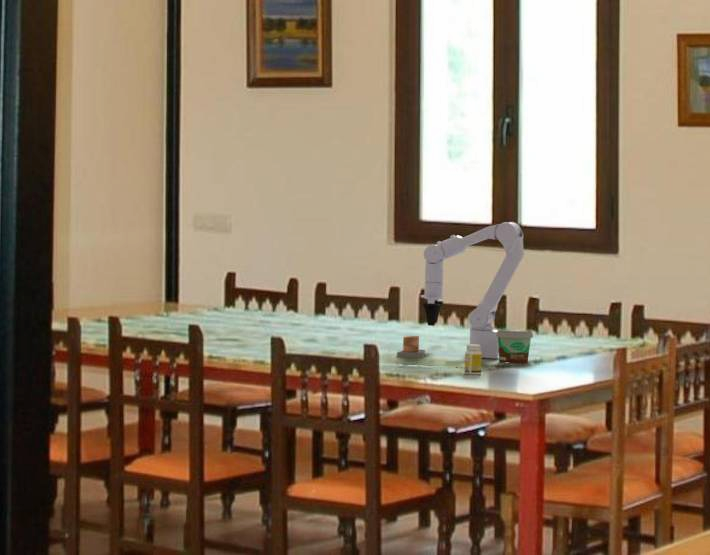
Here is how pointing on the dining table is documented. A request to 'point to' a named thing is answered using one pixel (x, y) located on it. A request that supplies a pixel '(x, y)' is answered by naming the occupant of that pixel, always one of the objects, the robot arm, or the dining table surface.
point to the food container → (514, 346)
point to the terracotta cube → (410, 343)
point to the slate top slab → (411, 354)
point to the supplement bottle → (473, 359)
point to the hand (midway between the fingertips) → (432, 324)
